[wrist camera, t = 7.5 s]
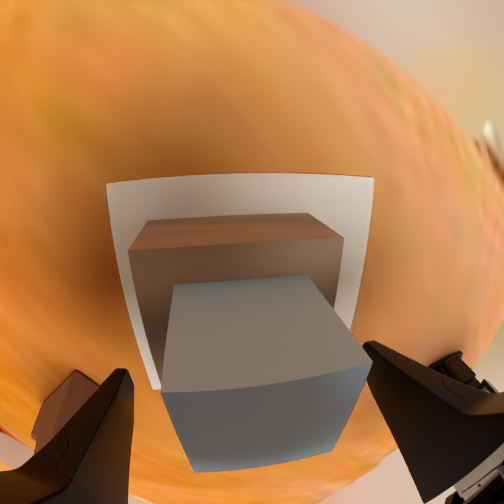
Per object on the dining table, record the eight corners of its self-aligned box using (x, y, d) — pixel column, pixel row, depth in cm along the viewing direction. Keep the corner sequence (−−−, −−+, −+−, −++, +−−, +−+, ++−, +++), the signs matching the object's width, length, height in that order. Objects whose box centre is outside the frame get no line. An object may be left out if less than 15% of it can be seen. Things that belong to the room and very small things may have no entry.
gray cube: (295, 366, 12) (331, 450, 8) (190, 377, 11) (194, 472, 7) (306, 274, 10) (373, 362, 6) (174, 284, 10) (160, 392, 5)
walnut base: (296, 336, 17) (318, 381, 13) (169, 348, 15) (165, 398, 12) (307, 212, 14) (344, 237, 10) (147, 220, 12) (127, 250, 9)
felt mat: (338, 364, 19) (340, 367, 19) (153, 385, 17) (153, 389, 17) (370, 176, 14) (374, 178, 14) (108, 183, 12) (106, 184, 11)
